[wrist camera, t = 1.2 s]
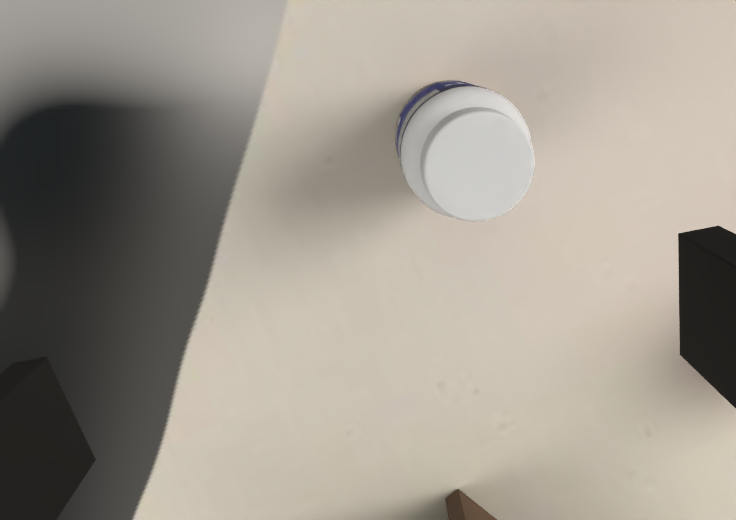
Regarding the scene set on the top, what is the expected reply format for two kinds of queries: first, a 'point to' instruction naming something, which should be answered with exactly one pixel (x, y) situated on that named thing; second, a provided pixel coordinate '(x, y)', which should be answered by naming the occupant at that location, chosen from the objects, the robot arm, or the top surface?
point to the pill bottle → (464, 150)
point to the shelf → (465, 508)
